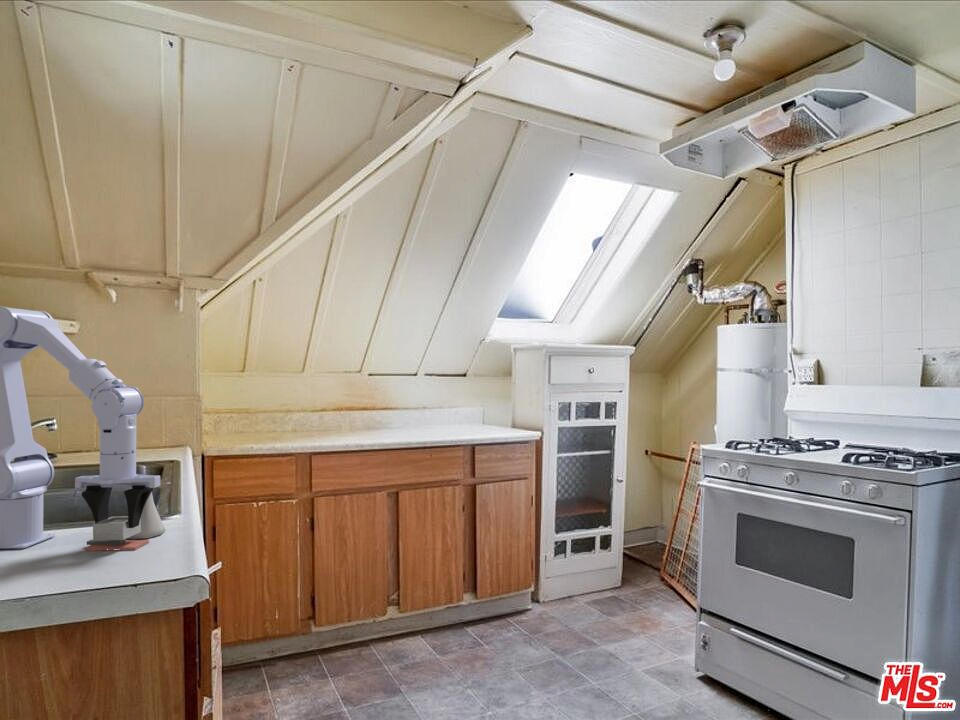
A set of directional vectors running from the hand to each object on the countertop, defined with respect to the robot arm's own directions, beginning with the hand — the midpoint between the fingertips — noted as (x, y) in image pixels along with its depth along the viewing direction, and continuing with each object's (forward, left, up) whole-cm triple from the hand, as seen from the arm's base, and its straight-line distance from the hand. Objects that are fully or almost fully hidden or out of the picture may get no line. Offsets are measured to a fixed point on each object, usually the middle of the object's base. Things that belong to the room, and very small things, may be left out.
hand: (117, 526), depth 107 cm
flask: (+1, +7, -4) cm, 8 cm away
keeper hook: (0, 0, -4) cm, 4 cm away
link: (0, 0, -2) cm, 2 cm away
